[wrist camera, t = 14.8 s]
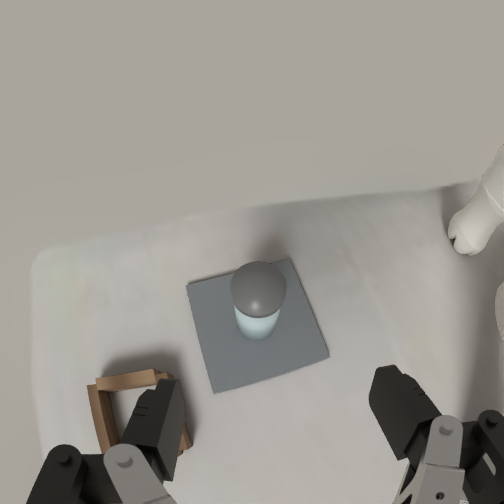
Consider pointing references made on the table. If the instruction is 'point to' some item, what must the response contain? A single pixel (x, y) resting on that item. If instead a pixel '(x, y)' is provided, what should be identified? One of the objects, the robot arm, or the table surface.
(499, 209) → the water bottle
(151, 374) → the walnut collar
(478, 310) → the table surface
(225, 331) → the slate pad
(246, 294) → the grey-capped cylinder canister
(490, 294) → the table surface
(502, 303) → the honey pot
